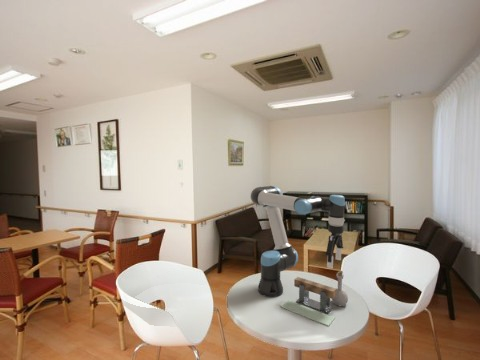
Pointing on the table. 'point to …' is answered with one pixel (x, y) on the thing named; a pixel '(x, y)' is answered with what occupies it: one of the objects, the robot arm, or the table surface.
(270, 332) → the table surface
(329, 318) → the mat
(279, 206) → the robot arm
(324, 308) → the rack
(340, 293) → the potion bottle
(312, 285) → the rail
